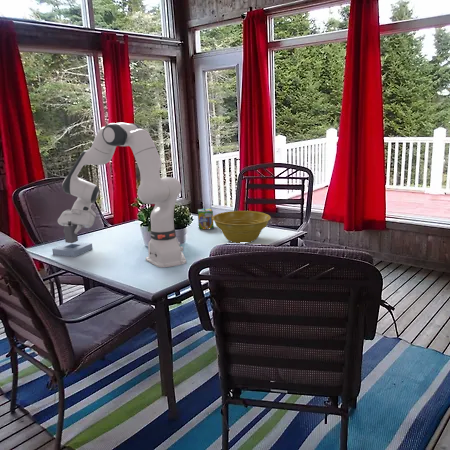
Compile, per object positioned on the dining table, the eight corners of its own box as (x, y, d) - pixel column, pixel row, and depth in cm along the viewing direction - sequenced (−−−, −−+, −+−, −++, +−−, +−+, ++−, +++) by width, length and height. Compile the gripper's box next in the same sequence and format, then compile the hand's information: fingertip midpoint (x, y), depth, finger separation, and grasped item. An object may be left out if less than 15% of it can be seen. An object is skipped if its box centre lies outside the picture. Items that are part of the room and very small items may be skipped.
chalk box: (213, 229, 256) (212, 205, 253) (198, 230, 255) (197, 206, 252) (212, 225, 265) (211, 202, 262) (198, 226, 264) (197, 203, 261)
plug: (78, 240, 219) (75, 220, 216) (72, 243, 215) (69, 222, 212) (71, 240, 220) (68, 220, 217) (65, 242, 216) (63, 221, 213)
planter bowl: (282, 243, 224) (282, 218, 221) (229, 252, 210) (228, 226, 207) (252, 230, 252) (252, 208, 249) (203, 237, 238) (202, 214, 235)
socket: (92, 248, 222) (91, 243, 222) (74, 256, 210) (74, 251, 209) (71, 246, 227) (70, 241, 227) (52, 254, 215) (52, 248, 214)
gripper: (61, 206, 223) (50, 228, 216) (92, 208, 216) (82, 231, 209) (67, 212, 228) (57, 234, 222) (99, 214, 221) (89, 237, 215)
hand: (69, 232), depth 215 cm, fingers closed on plug, 4 cm apart
